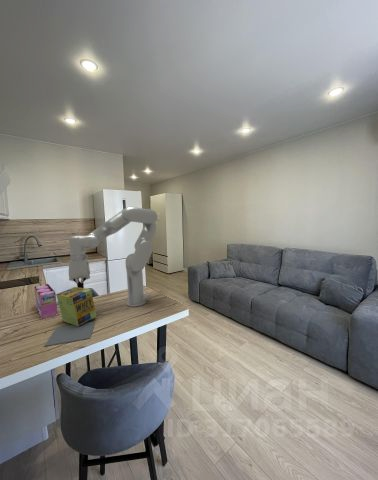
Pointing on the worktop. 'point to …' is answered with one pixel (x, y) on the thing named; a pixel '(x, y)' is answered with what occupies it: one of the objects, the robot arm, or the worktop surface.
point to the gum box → (45, 301)
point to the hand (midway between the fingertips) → (80, 289)
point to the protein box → (76, 305)
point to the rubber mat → (70, 334)
